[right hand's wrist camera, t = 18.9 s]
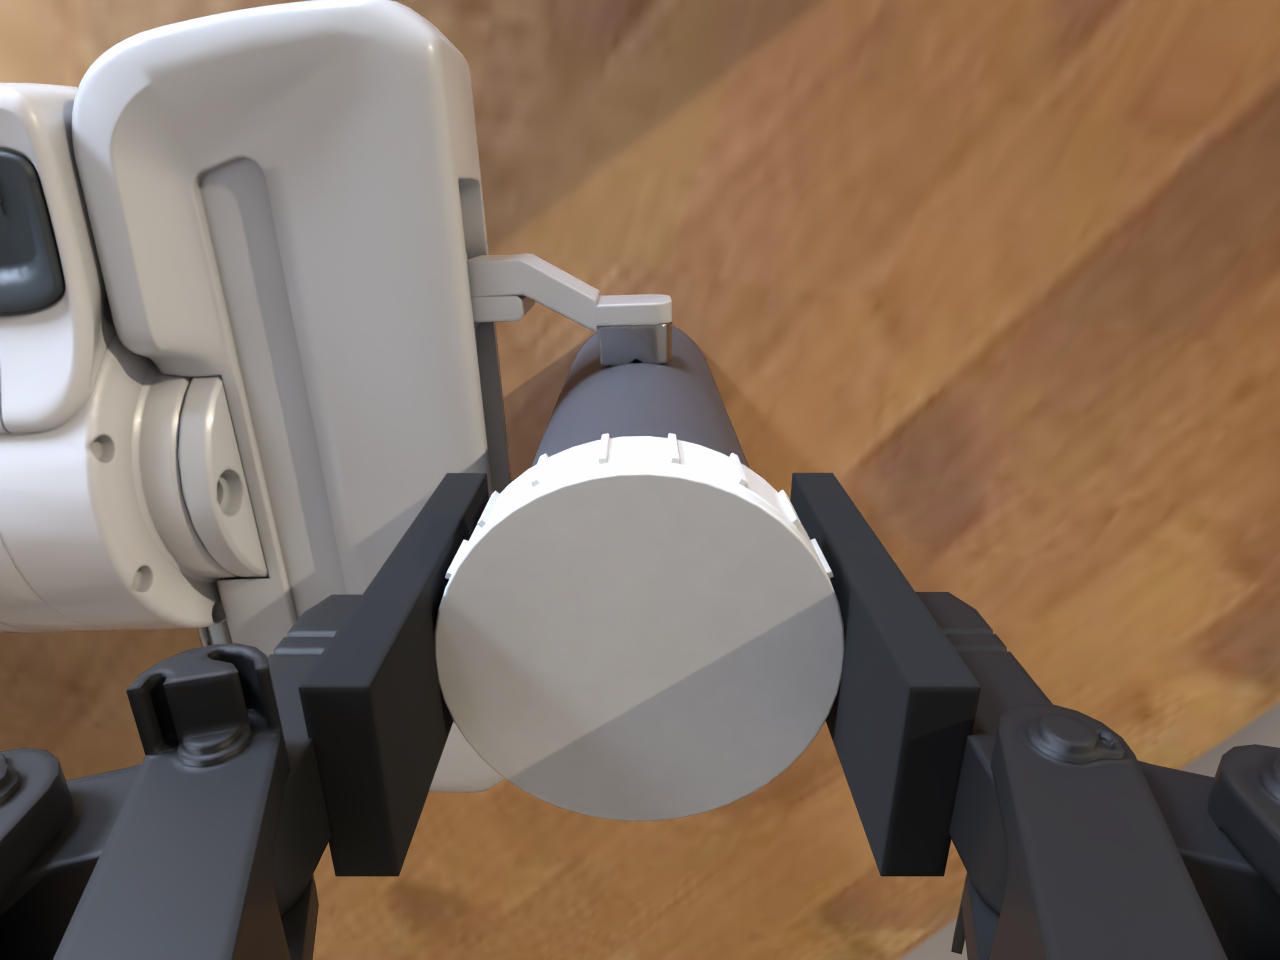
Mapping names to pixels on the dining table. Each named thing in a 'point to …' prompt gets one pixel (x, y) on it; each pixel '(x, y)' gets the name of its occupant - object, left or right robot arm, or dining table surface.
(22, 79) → the dining table surface
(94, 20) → the dining table surface
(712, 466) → the lid
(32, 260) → the left robot arm
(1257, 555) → the dining table surface
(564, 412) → the jar
